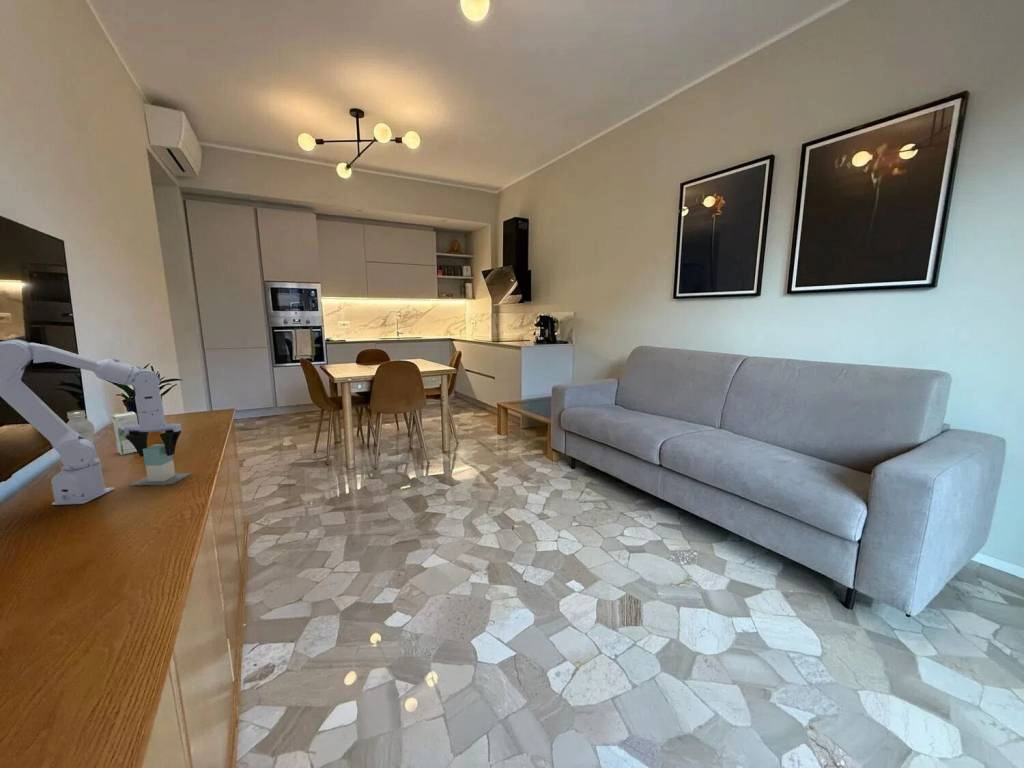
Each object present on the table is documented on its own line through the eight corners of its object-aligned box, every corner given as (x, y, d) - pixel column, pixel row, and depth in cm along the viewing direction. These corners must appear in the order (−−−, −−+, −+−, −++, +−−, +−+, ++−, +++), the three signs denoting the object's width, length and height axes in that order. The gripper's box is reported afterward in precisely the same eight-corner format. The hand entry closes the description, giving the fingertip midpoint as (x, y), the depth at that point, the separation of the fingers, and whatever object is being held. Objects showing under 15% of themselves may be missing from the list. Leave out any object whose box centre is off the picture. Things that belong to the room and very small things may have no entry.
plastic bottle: (67, 476, 128) (54, 413, 125) (95, 468, 134) (83, 408, 131) (79, 478, 126) (66, 414, 122) (107, 470, 132) (95, 409, 129)
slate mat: (172, 484, 120) (172, 483, 120) (128, 486, 120) (128, 484, 119) (191, 474, 128) (191, 473, 128) (150, 475, 127) (150, 474, 127)
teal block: (161, 465, 121) (158, 448, 120) (145, 465, 121) (142, 449, 120) (172, 459, 125) (170, 444, 125) (157, 460, 125) (155, 444, 124)
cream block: (164, 481, 122) (161, 464, 121) (148, 481, 122) (145, 465, 121) (175, 475, 127) (173, 459, 126) (160, 475, 126) (157, 460, 125)
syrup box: (138, 448, 154) (131, 410, 152) (142, 451, 151) (136, 412, 148) (117, 452, 150) (110, 413, 147) (121, 455, 146) (114, 416, 144)
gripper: (186, 407, 125) (192, 450, 127) (135, 408, 124) (142, 451, 126) (168, 412, 118) (175, 457, 120) (114, 413, 117) (122, 459, 119)
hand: (157, 455), depth 123 cm, fingers open, 7 cm apart
